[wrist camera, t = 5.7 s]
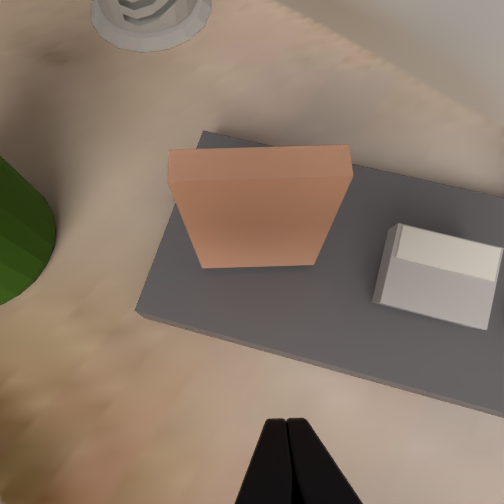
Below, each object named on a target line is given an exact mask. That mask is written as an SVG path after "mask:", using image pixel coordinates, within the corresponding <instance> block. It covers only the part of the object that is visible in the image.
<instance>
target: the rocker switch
mask: <svg viewBox="0 0 504 504" xmlns="http://www.w3.org/2000/svg"><path fill="white" fill-rule="evenodd" d="M503 249H504V248H502V247H498V246H494V245H489V244H485V243H481V242H477V241H472V240H468V239H464V238H460V237H455V236H451V235H447V234H443V233H439V232H434V231H430V230H426V229H422V228H417V227H413V226H409V225H405V224H401V223H398V224H396V225H395V226H393V227H391V228H390V229H388V234H387V238H386V242H385V247H384V251H383V255H382V259H381V264H380V268H379V272H378V277H377V281H376V285H375V290H374V294H373V298H372V302H373V303H377V304H381V305H385V306H389V307H393V308H397V309H400V310H404V311H408V312H412V313H416V314H420V315H424V316H428V317H432V318H435V319H439V320H443V321H447V322H451V323H455V324H459V325H463V326H466V327H471V328H477V329H482V330H487V327H488V322H489V317H490V312H491V307H492V303H493V298H494V293H495V288H496V283H497V278H498V274H499V269H500V264H501V259H502V254H503Z"/></svg>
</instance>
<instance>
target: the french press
mask: <svg viewBox="0 0 504 504" xmlns="http://www.w3.org/2000/svg"><path fill="white" fill-rule="evenodd" d="M211 10H212V6H211V0H93V2H92V4H91V22H92V24H93V25H94V27H95V29H96V30H97V32H98V34H99V35H100V37H102V38H103V39H105V40H106V41H108V42H110V43H111V44H113V45H114V46H116V47H118V48H121V49H126V50H131V51H136V52H141V53H142V52H151V51H161V50H168V49H170V48H172V47H175V46H177V45H179V44H182V43H184V42H186V41H189V40H190V39H191V38H192V37H193V36H194V35H195V34H196V33H198V32H199V31H200V30H201V29H202V28H203V27H204V26H205V24H206V22H207V19H208V17H209V15H210V12H211Z"/></svg>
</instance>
